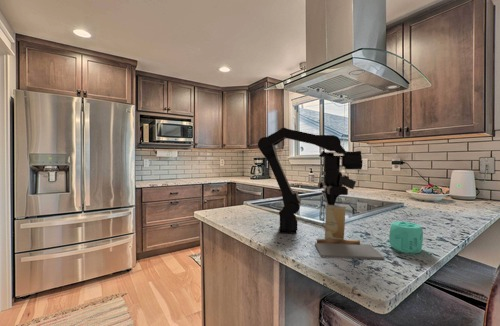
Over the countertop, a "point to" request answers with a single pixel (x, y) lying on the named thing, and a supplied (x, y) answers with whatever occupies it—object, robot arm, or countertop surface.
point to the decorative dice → (406, 237)
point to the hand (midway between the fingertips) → (331, 210)
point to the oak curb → (338, 241)
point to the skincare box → (335, 222)
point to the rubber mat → (348, 251)
